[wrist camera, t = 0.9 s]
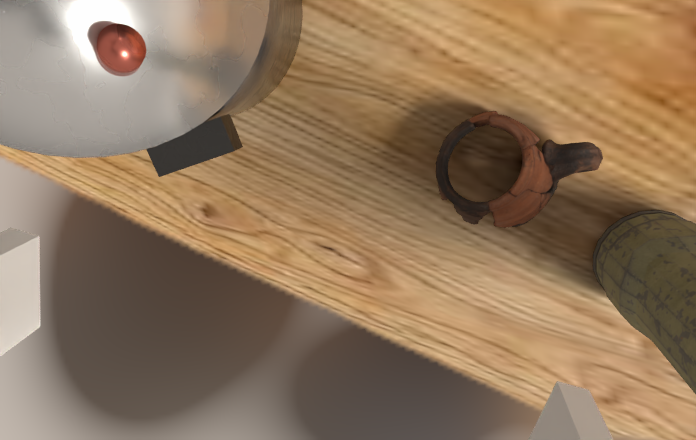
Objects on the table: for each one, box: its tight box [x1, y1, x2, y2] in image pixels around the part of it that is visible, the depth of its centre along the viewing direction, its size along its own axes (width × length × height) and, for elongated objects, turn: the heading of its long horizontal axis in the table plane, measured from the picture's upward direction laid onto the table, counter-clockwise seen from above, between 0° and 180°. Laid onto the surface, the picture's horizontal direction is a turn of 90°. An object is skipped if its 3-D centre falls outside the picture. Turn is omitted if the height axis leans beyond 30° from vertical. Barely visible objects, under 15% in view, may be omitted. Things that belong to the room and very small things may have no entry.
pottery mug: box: [436, 111, 603, 228], centre depth 38 cm, size 12×10×8 cm
